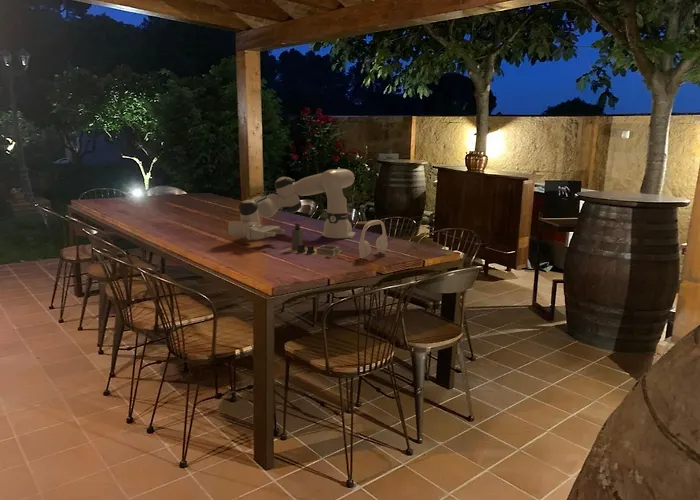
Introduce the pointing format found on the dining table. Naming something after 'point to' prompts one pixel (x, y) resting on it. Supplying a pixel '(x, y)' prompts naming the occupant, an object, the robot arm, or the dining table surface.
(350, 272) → the dining table surface
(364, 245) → the headset
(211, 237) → the dining table surface
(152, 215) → the dining table surface
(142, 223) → the dining table surface
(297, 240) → the grey square bottle
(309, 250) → the cable board
